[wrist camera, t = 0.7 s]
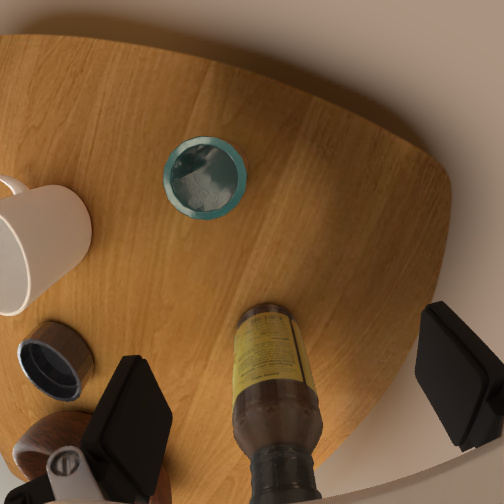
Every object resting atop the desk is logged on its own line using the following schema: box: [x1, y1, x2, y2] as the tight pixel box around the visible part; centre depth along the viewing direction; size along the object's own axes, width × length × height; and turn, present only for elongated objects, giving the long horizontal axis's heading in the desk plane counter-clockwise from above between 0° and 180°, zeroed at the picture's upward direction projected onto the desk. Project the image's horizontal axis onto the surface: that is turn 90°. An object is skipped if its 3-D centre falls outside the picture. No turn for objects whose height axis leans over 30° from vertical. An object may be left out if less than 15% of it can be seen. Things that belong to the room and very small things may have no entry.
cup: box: [163, 136, 248, 220], centre depth 22 cm, size 5×5×8 cm
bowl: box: [17, 322, 94, 402], centre depth 30 cm, size 9×9×4 cm
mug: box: [0, 175, 92, 316], centre depth 22 cm, size 9×12×11 cm
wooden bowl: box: [13, 411, 172, 504], centre depth 34 cm, size 25×25×10 cm
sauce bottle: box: [232, 304, 323, 504], centre depth 21 cm, size 6×6×20 cm
